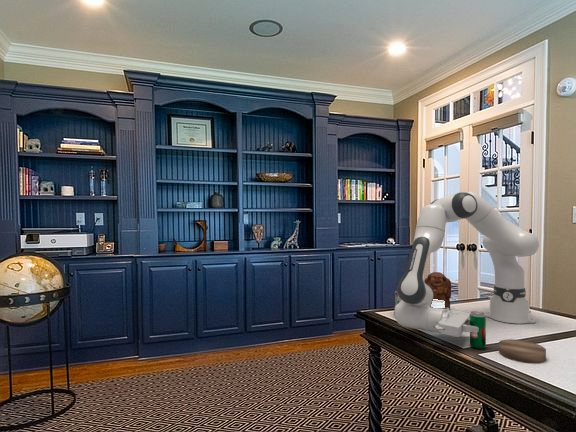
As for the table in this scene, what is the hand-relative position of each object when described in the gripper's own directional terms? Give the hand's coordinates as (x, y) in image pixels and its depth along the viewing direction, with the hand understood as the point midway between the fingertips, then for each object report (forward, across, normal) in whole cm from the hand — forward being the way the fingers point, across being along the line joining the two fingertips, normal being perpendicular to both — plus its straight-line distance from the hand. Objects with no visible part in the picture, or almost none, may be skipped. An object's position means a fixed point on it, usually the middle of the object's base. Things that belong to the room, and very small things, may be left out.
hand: (480, 327), depth 129 cm
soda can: (-1, 0, +7) cm, 7 cm away
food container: (-36, +25, +7) cm, 44 cm away
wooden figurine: (-26, +45, +7) cm, 52 cm away
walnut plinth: (+12, 0, +7) cm, 14 cm away
